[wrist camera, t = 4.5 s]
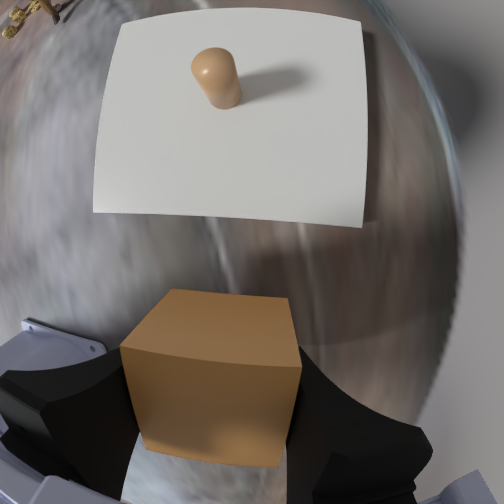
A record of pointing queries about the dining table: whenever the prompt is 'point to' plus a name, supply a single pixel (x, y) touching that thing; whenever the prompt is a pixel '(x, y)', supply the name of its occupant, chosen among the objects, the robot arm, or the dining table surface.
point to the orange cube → (214, 377)
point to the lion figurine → (51, 9)
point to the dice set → (19, 18)
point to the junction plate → (236, 117)
